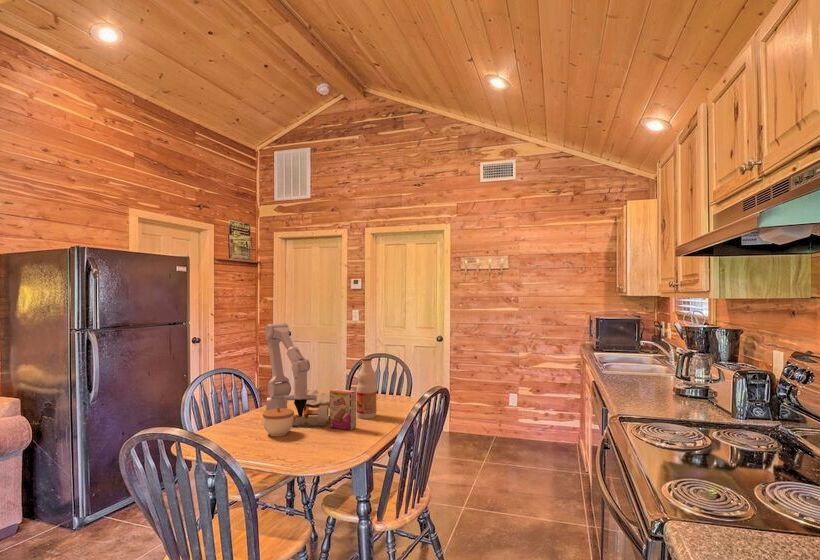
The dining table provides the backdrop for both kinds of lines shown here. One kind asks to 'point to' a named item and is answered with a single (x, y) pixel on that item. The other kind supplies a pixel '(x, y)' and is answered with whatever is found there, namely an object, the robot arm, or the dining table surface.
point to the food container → (319, 398)
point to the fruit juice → (366, 390)
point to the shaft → (309, 412)
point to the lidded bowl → (278, 421)
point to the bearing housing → (314, 419)
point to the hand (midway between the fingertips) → (300, 416)
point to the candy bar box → (343, 409)
